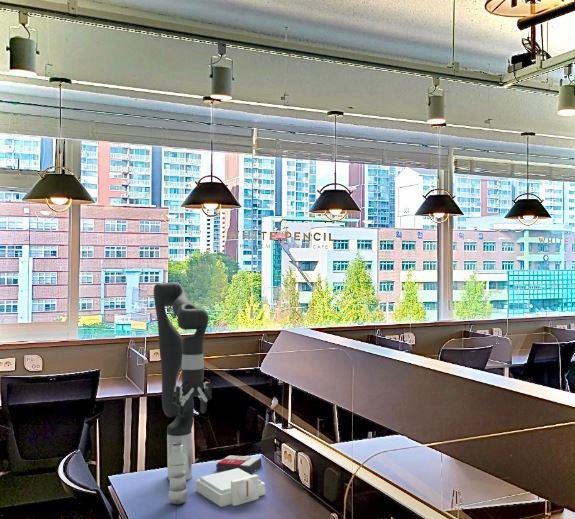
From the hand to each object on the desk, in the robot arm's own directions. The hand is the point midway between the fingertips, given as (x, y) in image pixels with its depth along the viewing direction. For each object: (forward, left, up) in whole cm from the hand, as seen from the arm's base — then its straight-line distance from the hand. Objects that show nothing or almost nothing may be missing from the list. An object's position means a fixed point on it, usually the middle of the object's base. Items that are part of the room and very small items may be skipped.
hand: (192, 414), depth 204 cm
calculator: (-21, +31, -31) cm, 48 cm away
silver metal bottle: (-4, -4, -31) cm, 31 cm away
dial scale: (+1, +15, -30) cm, 34 cm away
